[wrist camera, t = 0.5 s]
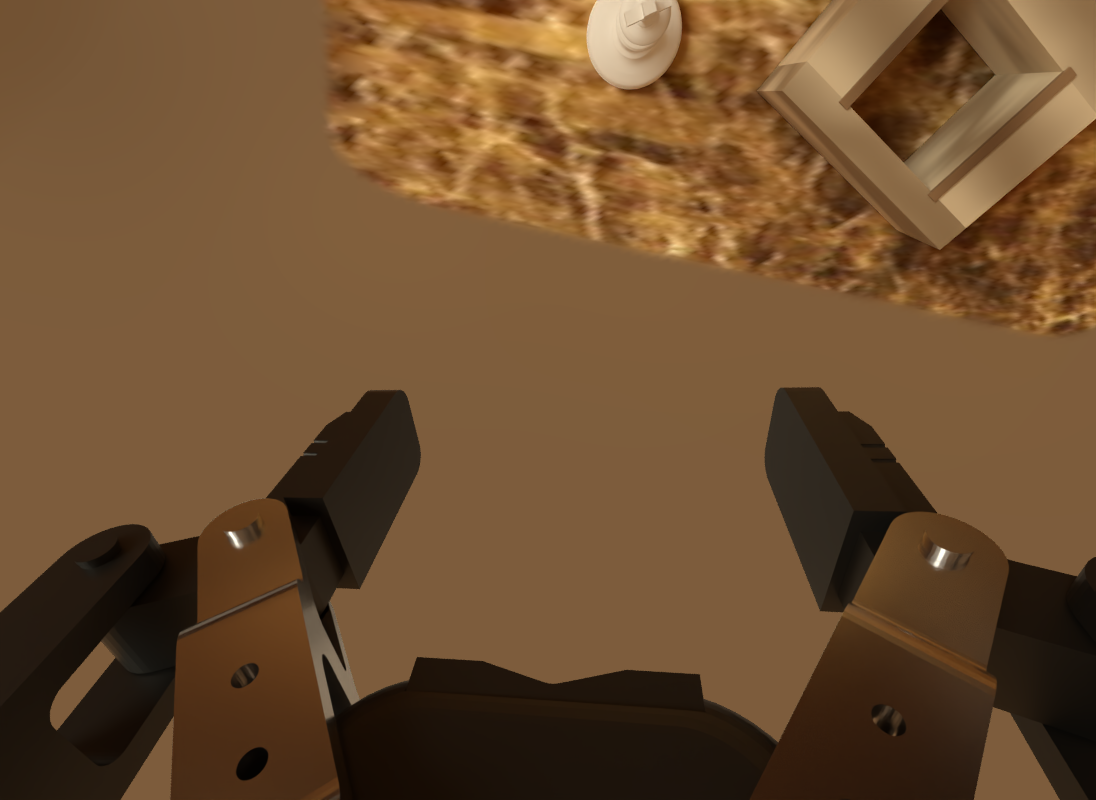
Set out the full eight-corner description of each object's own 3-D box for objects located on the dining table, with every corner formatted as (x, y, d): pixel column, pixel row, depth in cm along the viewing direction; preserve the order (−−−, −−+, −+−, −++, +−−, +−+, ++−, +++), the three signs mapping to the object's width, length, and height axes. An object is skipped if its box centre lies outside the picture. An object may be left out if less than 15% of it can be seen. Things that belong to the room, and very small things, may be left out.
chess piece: (691, 66, 27) (733, 53, 19) (603, 104, 28) (604, 108, 20) (668, -46, 25) (704, -119, 16) (573, 1, 26) (560, -44, 18)
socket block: (973, -171, 22) (1056, -230, 18) (1119, 30, 25) (1217, 18, 21) (756, 91, 27) (783, 90, 23) (896, 230, 30) (941, 250, 26)
